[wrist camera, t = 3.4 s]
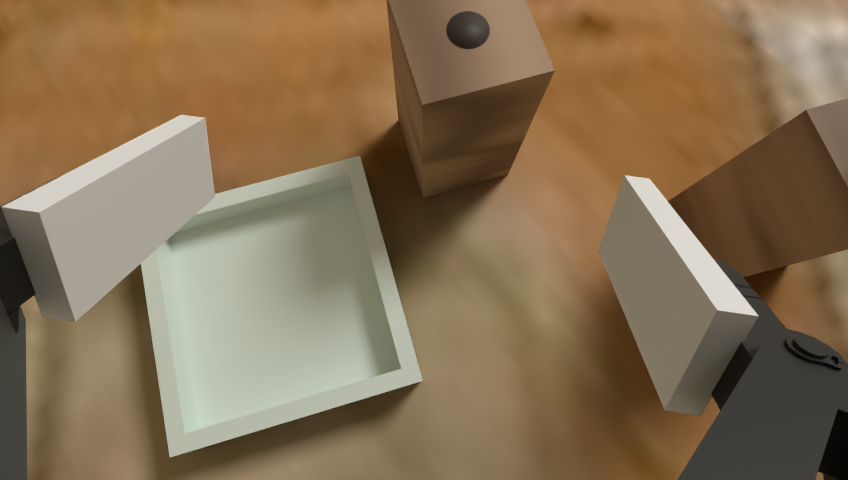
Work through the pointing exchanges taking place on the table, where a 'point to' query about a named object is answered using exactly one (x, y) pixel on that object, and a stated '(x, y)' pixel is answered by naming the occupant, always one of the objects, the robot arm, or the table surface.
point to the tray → (275, 307)
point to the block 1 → (465, 86)
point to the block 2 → (776, 196)
